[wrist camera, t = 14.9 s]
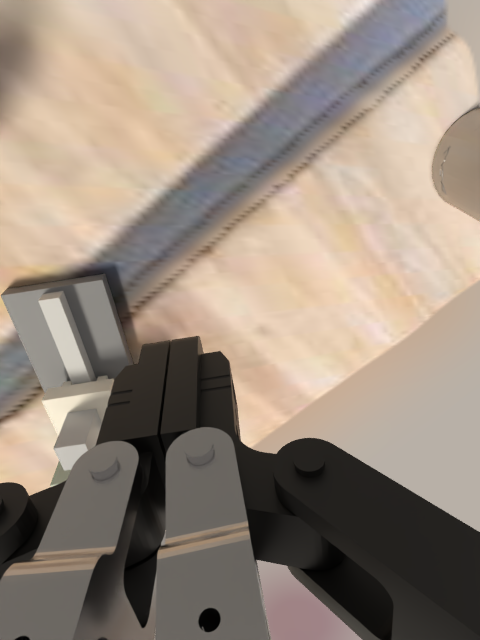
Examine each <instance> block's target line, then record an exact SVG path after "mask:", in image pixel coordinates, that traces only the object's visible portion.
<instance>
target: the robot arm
mask: <svg viewBox="0 0 480 640" xmlns="http://www.w3.org/2000/svg"><path fill="white" fill-rule="evenodd" d="M432 179H433V182H434V186H435V189H436V190H437V192H438V194H439V196H440V197H441V198H442V199H443V200H444V201H445V202H447V203H449V204H450V205H452V206H454V207H456V208H457V209H459V210H461V211H462V212H464V213H466V214H468V215H469V216H471V217H473V218H474V219H476V220H478V221H480V108H477V109H475V110H472V111H470V112H469V113H467V114H465V115H464V116H462V117H461V118H460V119H458V120H457V121H456V122H455V123H454V124H453V125H452V126H451V127H450V128H449V129H448V131H447V132H446V133H445V134H444V136H443V138H442V139H441V141H440V143H439V144H438V147H437V149H436V152H435V155H434V159H433V164H432ZM107 405H108V407H106V411H105V414H104V418H103V421H102V425H101V428H100V432H99V435H98V439H97V442H96V446H95V447H93V448H91V449H89V450H88V451H86V452H85V453H84V454H83V455H82V456H80V458H79V459H78V460H77V461H76V462H75V464H74V465H73V467H72V469H71V471H70V473H69V476H68V478H67V480H66V481H64V482H62V483H60V484H58V485H55V486H53V487H50V488H48V489H45V490H43V491H40V492H38V493H36V494H33V495H31V496H29V495H28V493H27V491H26V489H25V488H24V487H23V486H22V485H20V484H17V483H10V482H7V483H1V484H0V640H154V638H155V640H271V636H270V631H269V625H268V620H267V615H266V610H265V604H264V599H263V593H262V588H261V583H260V577H259V572H258V566H257V561H256V560H261V561H266V562H271V563H276V564H282V565H287V566H288V569H289V570H290V572H291V573H292V575H294V577H295V578H296V579H297V580H299V581H300V582H301V583H302V584H303V585H304V586H305V587H306V588H307V589H308V590H309V591H310V592H311V593H313V594H314V595H315V596H316V597H317V598H318V599H319V600H320V601H321V602H322V603H323V604H325V605H326V606H327V607H328V608H329V609H330V610H331V611H332V612H333V613H334V614H335V615H337V616H338V617H339V618H340V619H341V620H342V621H343V622H344V623H345V624H346V625H348V627H350V628H351V629H352V630H353V631H354V632H355V633H356V634H357V635H358V636H359V637H360V638H361V639H363V640H480V532H478V531H476V530H475V529H473V528H472V527H470V526H468V525H467V524H465V523H463V522H462V521H460V520H458V519H456V518H455V517H453V516H451V515H450V514H448V513H446V512H445V511H443V510H442V509H440V508H438V507H437V506H435V505H433V504H432V503H430V502H428V501H427V500H425V499H423V498H422V497H420V496H418V495H416V494H415V493H413V492H412V491H410V490H408V489H407V488H405V487H403V486H402V485H400V484H398V483H397V482H395V481H393V480H392V479H390V478H388V477H387V476H385V475H383V474H382V473H380V472H378V471H377V470H375V469H373V468H371V467H370V466H368V465H366V464H365V463H363V462H362V461H360V460H358V459H357V458H355V457H353V456H352V455H350V454H348V453H347V452H345V451H343V450H342V449H340V448H338V447H337V446H335V445H333V444H332V443H330V442H327V441H324V440H321V439H316V438H304V439H298V440H295V441H292V442H290V443H288V444H286V445H285V446H283V447H282V448H281V449H280V450H279V451H278V453H277V454H272V453H264V452H259V451H256V450H253V449H251V448H249V447H247V446H246V445H244V444H243V443H242V442H241V439H240V429H239V420H238V408H237V401H236V396H235V390H234V385H233V379H232V374H231V368H230V363H229V361H228V359H227V358H226V357H225V356H224V355H223V354H222V352H221V351H218V352H212V353H205V354H204V353H203V348H202V344H201V340H200V337H199V336H195V337H188V338H182V339H175V340H172V341H163V342H157V343H150V344H144V345H143V346H142V350H141V354H140V359H139V363H138V364H135V365H128V366H125V367H124V369H123V370H122V371H121V372H120V373H119V374H118V376H117V377H116V378H115V379H114V383H113V386H112V390H111V396H110V397H109V400H108V404H107ZM165 530H166V532H165ZM155 628H156V631H155ZM155 634H156V635H155Z"/></svg>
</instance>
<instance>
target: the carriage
mask: <svg viewBox="0 0 480 640" xmlns="http://www.w3.org/2000/svg"><path fill="white" fill-rule="evenodd" d="M113 383H114V379H108V376H107V375H106V376H99V377H98V378H97V381H93V382H87V383H80V384H74V385H72V382H71V381H66V382H63V384H62V386H61V387H54V388H48V389H47V391H46V393H45V395H44V397H43V399H42V403H43V405H44V407H45V409H46V411H47V413H48V415H49V418H50V420H51V422H52V424H53V426H54V428H55V431H56V433H57V435H58V438H57V441H56V444H55V446H54V451H55V453H56V455H57V457H58V459H59V461H60V463H61V465H62V467H63V469H64V471H65V470H71V469H72V467H73V465H74V464H75V462H76V461H77V460H78V459H79V458H80V456H82V455H83V454H84V453H85V452H86V451H88V450H89V449H91V448H93V447H95V446H96V442H97V439H98V435H99V432H100V428H101V425H102V421H103V418H104V414H105V411H106V407H108V405H107V404H108V400H109V397H110V396H111V390H112V386H113Z"/></svg>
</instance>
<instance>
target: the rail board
mask: <svg viewBox="0 0 480 640" xmlns="http://www.w3.org/2000/svg"><path fill="white" fill-rule="evenodd" d="M1 297H2V299H3V302H4V304H5V306H6V308H7V311H8V313H9V315H10V317H11V319H12V322H13V324H14V326H15V328H16V330H17V333H18V335H19V337H20V339H21V341H22V344H23V346H24V348H25V350H26V352H27V355H28V357H29V359H30V361H31V363H32V366H33V368H34V370H35V372H36V374H37V377H38V379H39V381H40V383H41V385H42V388H43V390H44V392H45V393H46V391H47V389H48V388H54V387H61V386H62V384H63V382H66V381H71V382H72V385H74V384H80V383H87V382H93V381H97V378H98V377H99V376H106V375H107V376H108V379H115V378H116V377H117V376H118V374H119V373H120V372H121V371H122V370H123V369H124V367H125V366H128V365H134V364H133V361H132V357H131V354H130V351H129V348H128V345H127V341H126V338H125V335H124V332H123V329H122V326H121V322H120V319H119V316H118V313H117V310H116V306H115V303H114V300H113V297H112V294H111V290H110V287H109V284H108V281H107V278H106V275H105V274H100V275H93V276H87V277H80V278H74V279H68V280H61V281H55V282H48V283H42V284H35V285H29V286H23V287H16V288H10V289H6V290H5V291H4V293H3V294H2V295H1Z"/></svg>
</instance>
